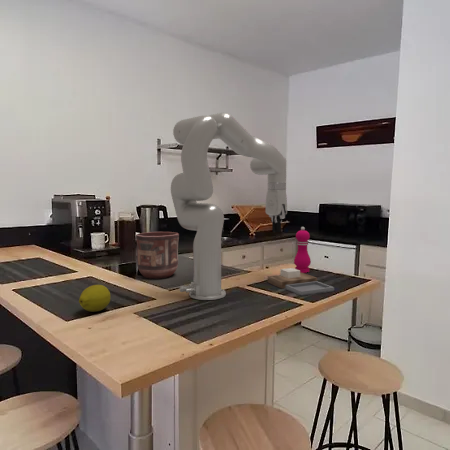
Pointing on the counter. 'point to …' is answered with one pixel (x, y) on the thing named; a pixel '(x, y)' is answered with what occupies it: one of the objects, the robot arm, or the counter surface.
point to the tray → (309, 288)
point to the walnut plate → (290, 280)
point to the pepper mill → (302, 251)
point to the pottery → (157, 254)
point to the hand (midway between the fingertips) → (276, 232)
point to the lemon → (95, 298)
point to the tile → (290, 273)
